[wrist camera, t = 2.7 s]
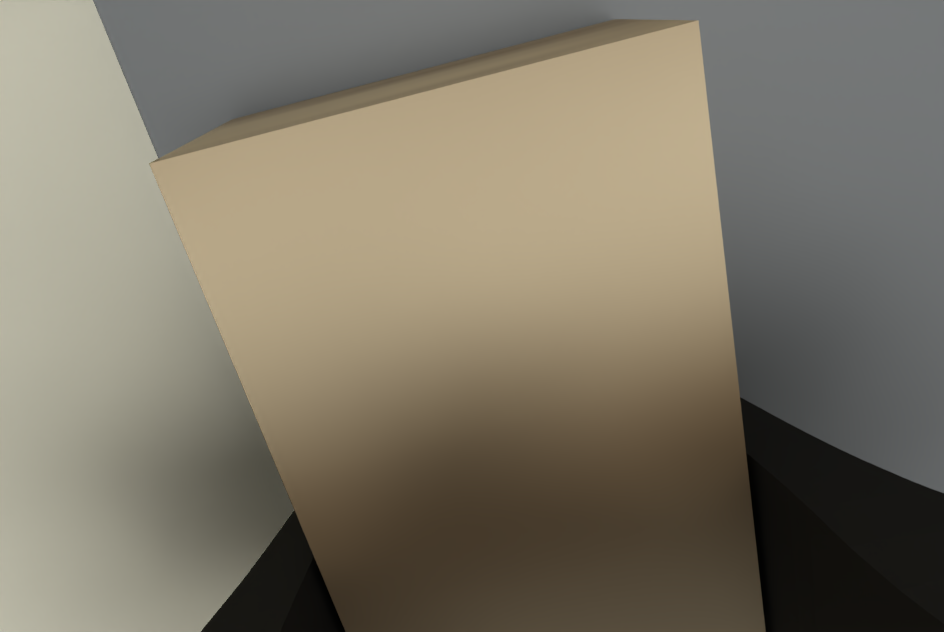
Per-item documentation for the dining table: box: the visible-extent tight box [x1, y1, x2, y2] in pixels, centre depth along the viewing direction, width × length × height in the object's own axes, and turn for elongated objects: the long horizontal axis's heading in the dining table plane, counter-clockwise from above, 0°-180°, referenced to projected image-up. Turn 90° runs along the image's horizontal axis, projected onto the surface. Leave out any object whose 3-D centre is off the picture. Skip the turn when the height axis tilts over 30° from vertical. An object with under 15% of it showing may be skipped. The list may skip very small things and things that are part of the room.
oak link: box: [149, 19, 766, 632], centre depth 10 cm, size 14×5×3 cm, turn 14°
